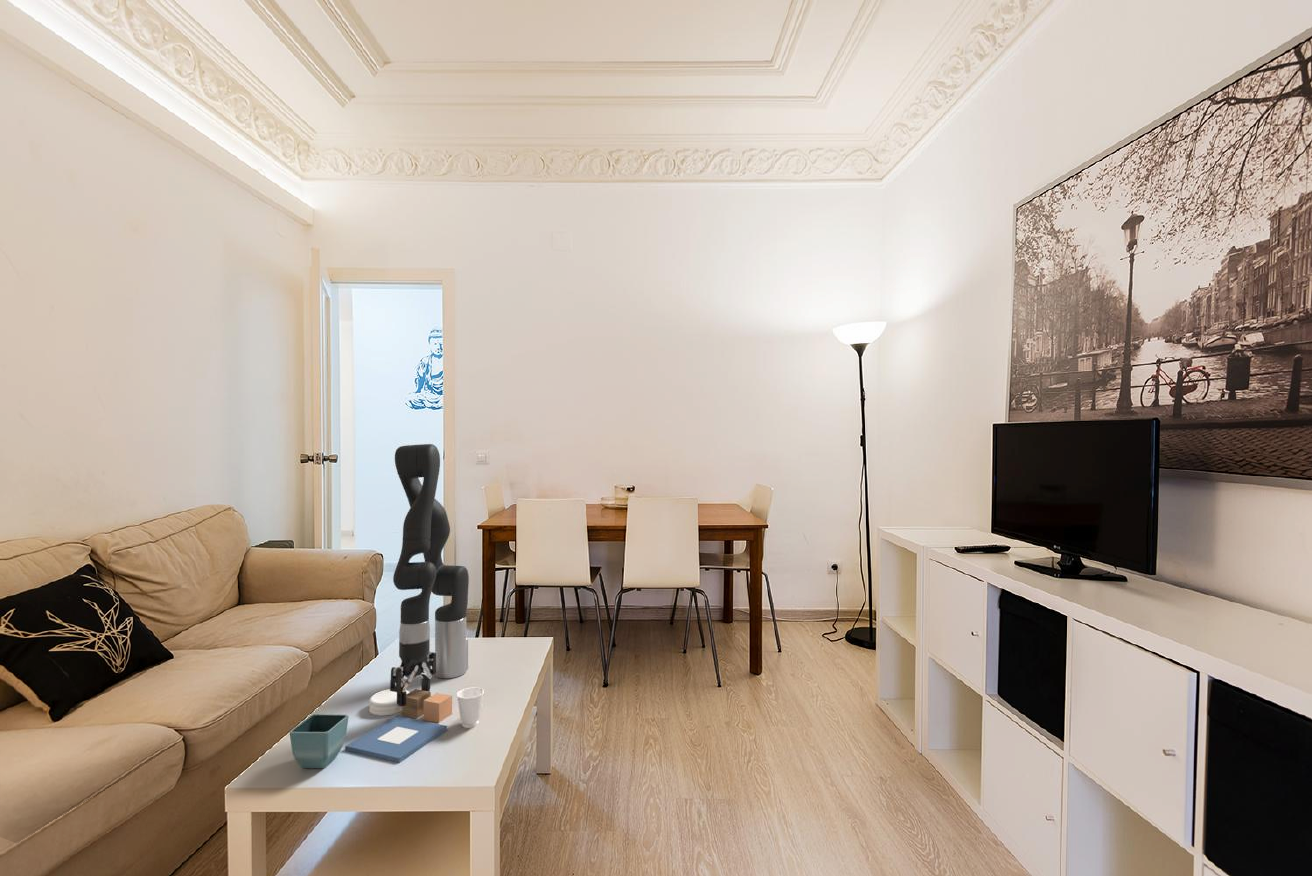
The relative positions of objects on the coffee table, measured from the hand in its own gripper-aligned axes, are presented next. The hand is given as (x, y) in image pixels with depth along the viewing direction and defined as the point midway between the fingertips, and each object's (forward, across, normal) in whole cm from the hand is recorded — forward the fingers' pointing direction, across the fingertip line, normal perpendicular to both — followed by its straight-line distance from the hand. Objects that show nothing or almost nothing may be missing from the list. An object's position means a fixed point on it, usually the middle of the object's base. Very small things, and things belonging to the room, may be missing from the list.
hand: (413, 699), depth 158 cm
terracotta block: (+4, -1, +7) cm, 8 cm away
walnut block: (+4, -1, 0) cm, 4 cm away
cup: (+4, -2, +17) cm, 18 cm away
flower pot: (+4, +26, -2) cm, 27 cm away
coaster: (+4, 0, -9) cm, 10 cm away
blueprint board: (+4, +12, +6) cm, 14 cm away
